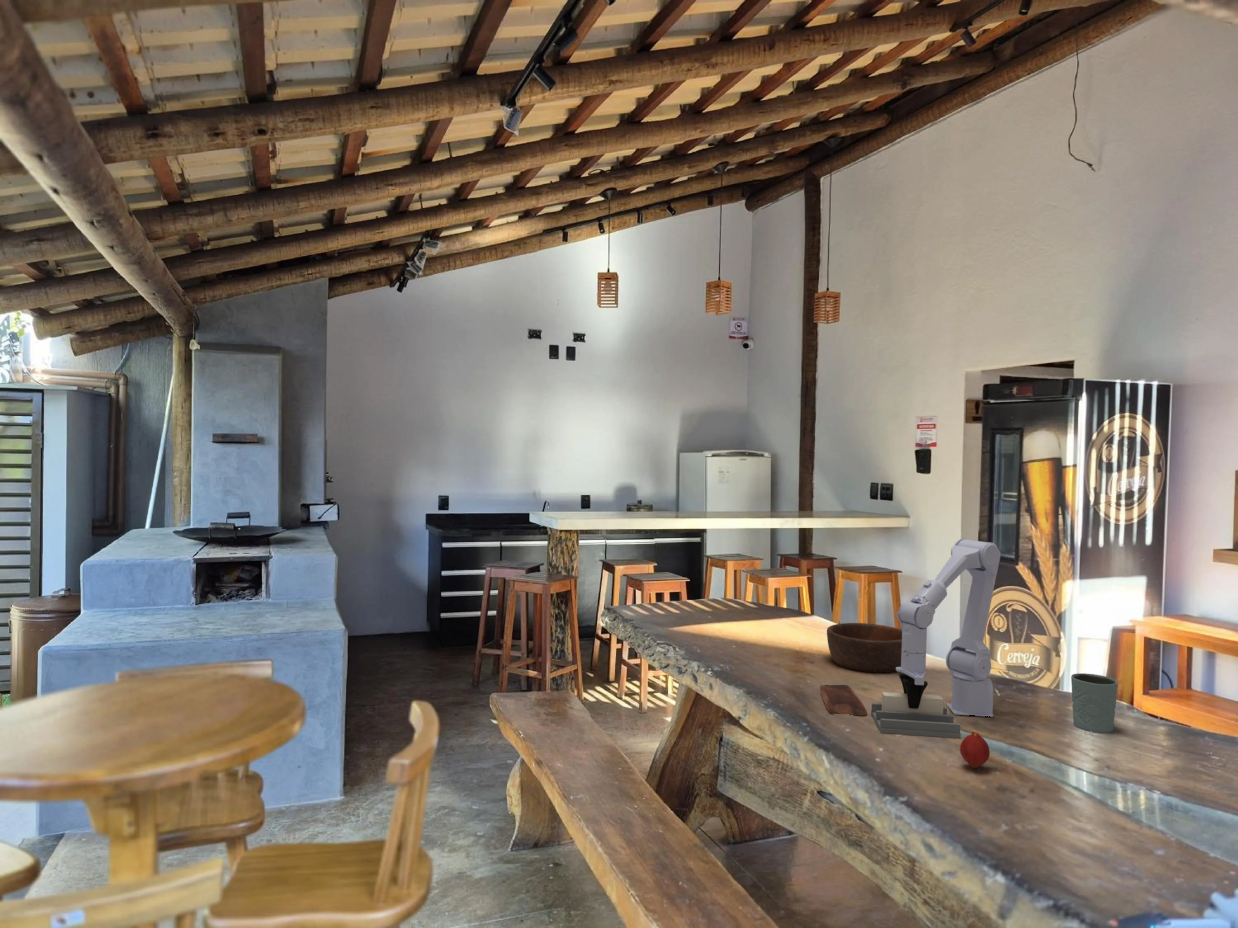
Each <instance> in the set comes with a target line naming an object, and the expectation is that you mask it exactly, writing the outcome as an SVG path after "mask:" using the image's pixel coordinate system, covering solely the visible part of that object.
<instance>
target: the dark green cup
mask: <svg viewBox="0 0 1238 928" xmlns="http://www.w3.org/2000/svg"><path fill="white" fill-rule="evenodd" d="M1070 680H1071V682H1070V683H1071V701H1072V724H1073V726H1074V727H1076V728H1078V729H1080V728H1081V729H1080V730H1083V729H1084V730H1083V731H1086V730H1087V731H1086V732H1090V731H1092V732H1091V733H1096V732H1097V734H1110V733H1112V732H1113V731H1114V726H1115V724H1114V723H1115V716H1116V710H1115V709H1116V706H1117V705H1116V704H1117V693H1118V685H1119V682H1118V680H1117V679H1115V678H1112V677H1109V676H1105V675H1101V674H1094V673H1086V672H1085V673H1082V672H1081V673H1079V672H1078V673H1073V674H1071V676H1070Z"/></svg>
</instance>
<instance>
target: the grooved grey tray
mask: <svg viewBox="0 0 1238 928" xmlns="http://www.w3.org/2000/svg"><path fill="white" fill-rule="evenodd" d="M870 714H871V717H872V716H873V717H872V718H873V720H874V722H875V725H876V726H877V728H878V731H879V732H880V733H881V734H886V733H890V734H889V735H891V734H892V735H902V734H903V735H906V736H918V737H919V736H921V737H935V738H949V739H961V737H962V735H961V734H962V733H961V724H960V723H957V722H954V720H955V719H954V716H955V715H953V714H948V708H947V707H946V706H943V715H942V714H926V713H909V712H893V711H882V702H880V703H879V702H871V709H870Z"/></svg>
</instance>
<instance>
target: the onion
mask: <svg viewBox="0 0 1238 928" xmlns="http://www.w3.org/2000/svg"><path fill="white" fill-rule="evenodd" d="M959 751H960V755H961V757H962V759H963V760H964V761H965V762H966V763H967V764H968V765H969V766H970V767H971V768H972V769H977V768H979V767H981V766H982V765H984V764H986V762H988V760H989V758H990V754H991V753H990V747H989V744H988V742H987V741H986V740H985V738H983V737H982V736H981V735H980V733H979V732H978V731H977V730H973V731H971V734H968V735H966V736H965V737H964V738H963V739H962V741H961V743H960V746H959Z"/></svg>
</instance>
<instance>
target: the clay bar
mask: <svg viewBox="0 0 1238 928" xmlns="http://www.w3.org/2000/svg"><path fill="white" fill-rule="evenodd" d="M881 703H882V711H893V712H909V713H926V714H942V715H943V707H944V697H943V696H942V695H937V694H922V697H921V701H920V704H919V708H918V709H912V708H909V706H908V699H907V694H905V693H904V692H903V693H902V692H886V691H882V692H881Z"/></svg>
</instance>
